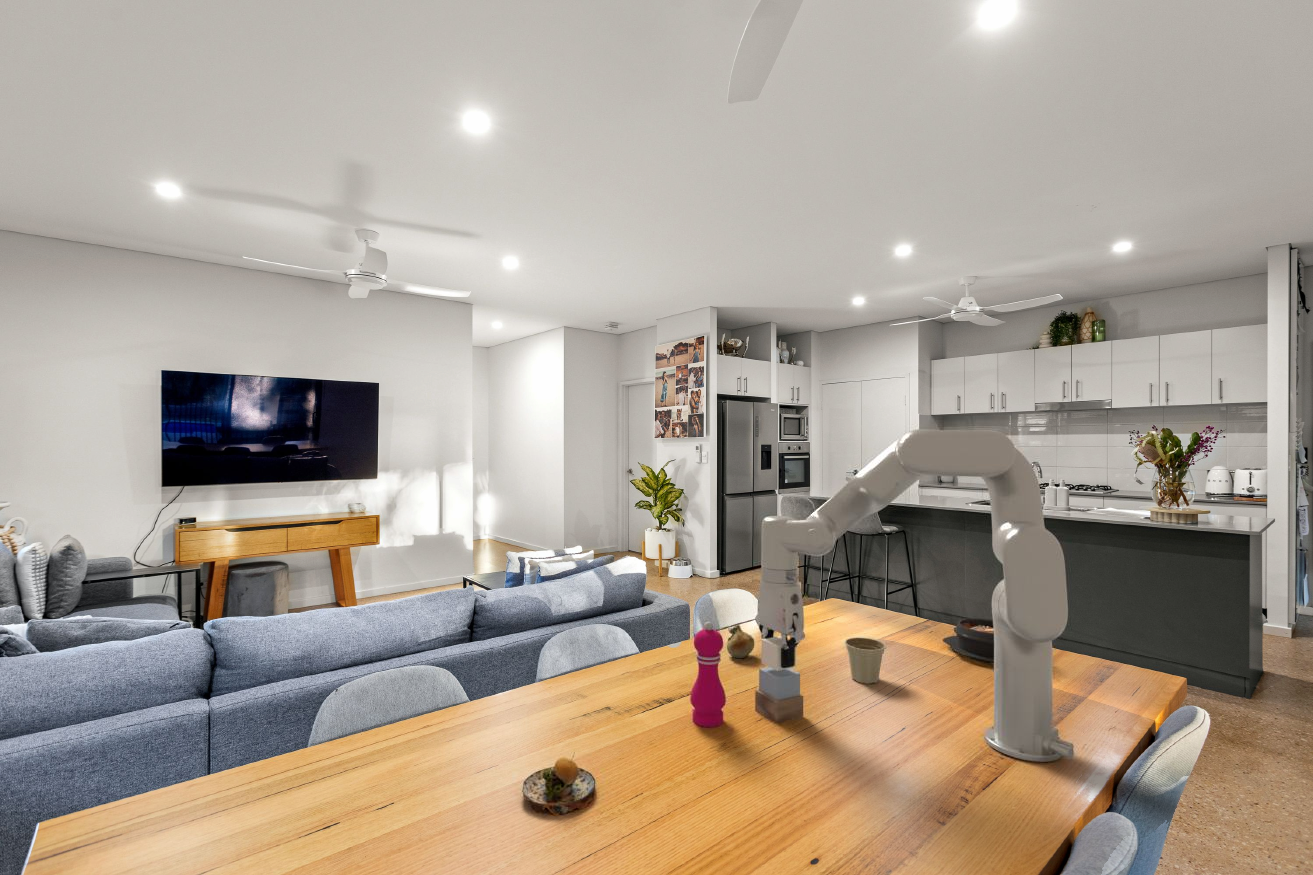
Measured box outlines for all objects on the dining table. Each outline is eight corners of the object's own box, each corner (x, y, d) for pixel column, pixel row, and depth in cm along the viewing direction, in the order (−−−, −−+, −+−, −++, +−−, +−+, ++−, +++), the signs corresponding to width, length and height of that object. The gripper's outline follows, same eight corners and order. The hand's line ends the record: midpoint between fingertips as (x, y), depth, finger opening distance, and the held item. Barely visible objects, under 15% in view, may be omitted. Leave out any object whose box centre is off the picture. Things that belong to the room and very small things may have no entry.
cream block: (795, 666, 131) (795, 642, 131) (776, 670, 129) (777, 646, 129) (779, 659, 136) (780, 635, 136) (761, 663, 133) (761, 639, 133)
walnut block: (803, 717, 131) (803, 695, 131) (776, 724, 127) (777, 702, 127) (780, 705, 137) (781, 684, 137) (755, 711, 133) (755, 690, 133)
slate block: (800, 695, 131) (800, 673, 131) (777, 700, 128) (777, 678, 128) (781, 685, 136) (781, 664, 136) (759, 689, 134) (759, 668, 134)
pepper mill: (723, 730, 124) (724, 628, 124) (687, 726, 126) (688, 625, 126) (727, 714, 131) (728, 618, 131) (692, 711, 133) (693, 615, 133)
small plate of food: (562, 768, 110) (562, 725, 110) (611, 792, 102) (612, 746, 102) (505, 797, 100) (506, 750, 100) (555, 826, 93) (555, 775, 93)
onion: (722, 660, 164) (723, 629, 164) (728, 650, 172) (728, 621, 172) (752, 663, 162) (752, 632, 162) (756, 653, 170) (756, 623, 170)
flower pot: (891, 687, 147) (891, 650, 147) (850, 686, 147) (851, 649, 147) (878, 672, 156) (878, 637, 156) (840, 671, 156) (840, 637, 157)
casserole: (926, 646, 177) (926, 616, 177) (976, 639, 184) (977, 611, 184) (1002, 677, 154) (1002, 643, 154) (1057, 669, 160) (1057, 635, 160)
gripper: (821, 581, 127) (821, 672, 127) (767, 566, 142) (766, 648, 142) (793, 585, 123) (792, 679, 123) (740, 569, 138) (739, 653, 138)
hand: (778, 661), depth 132 cm, fingers closed on cream block, 5 cm apart
